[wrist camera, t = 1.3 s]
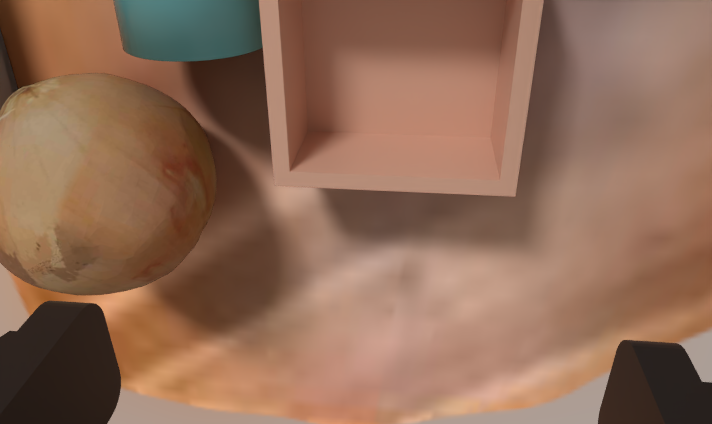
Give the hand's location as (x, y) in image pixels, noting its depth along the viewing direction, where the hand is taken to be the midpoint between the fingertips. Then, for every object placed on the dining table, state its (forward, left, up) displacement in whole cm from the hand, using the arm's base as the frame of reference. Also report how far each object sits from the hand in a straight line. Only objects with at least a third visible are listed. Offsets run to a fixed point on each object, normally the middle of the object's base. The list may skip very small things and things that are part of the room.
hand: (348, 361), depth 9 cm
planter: (0, 0, -20) cm, 20 cm away
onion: (+5, -13, -20) cm, 25 cm away
